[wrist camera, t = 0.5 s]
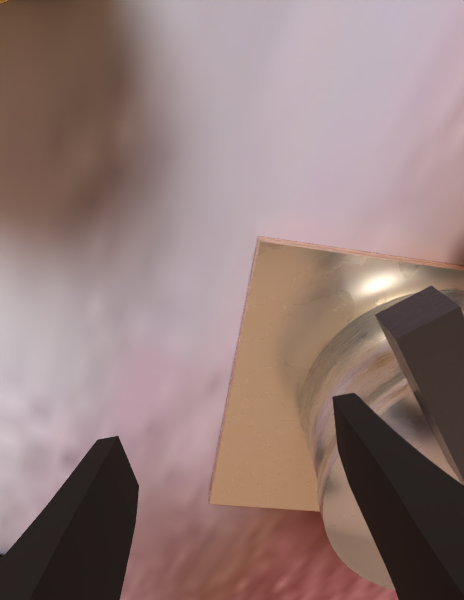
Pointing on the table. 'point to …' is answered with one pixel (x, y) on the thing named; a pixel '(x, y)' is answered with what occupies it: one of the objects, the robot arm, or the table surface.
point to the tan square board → (307, 362)
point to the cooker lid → (404, 417)
